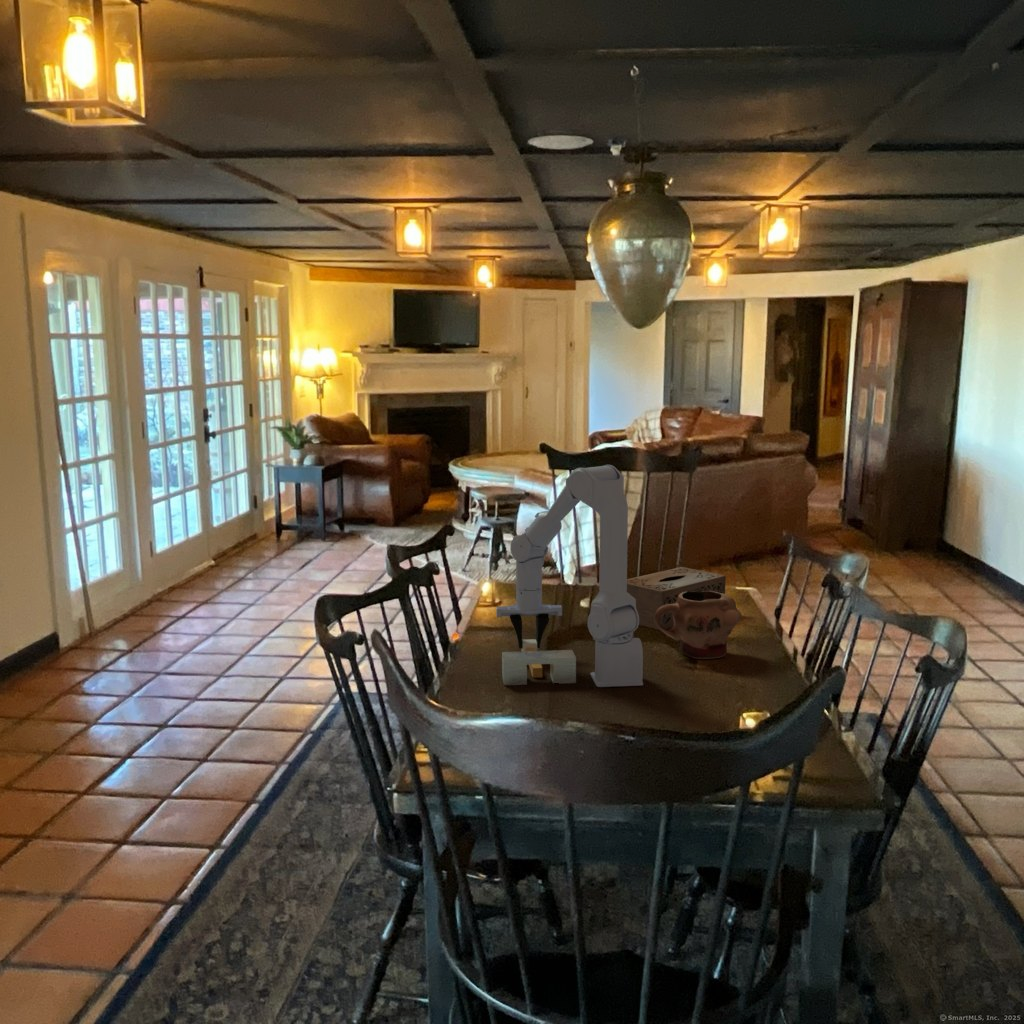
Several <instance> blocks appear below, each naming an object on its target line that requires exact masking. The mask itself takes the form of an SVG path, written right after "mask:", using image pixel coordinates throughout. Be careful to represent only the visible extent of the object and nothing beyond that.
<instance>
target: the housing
mask: <svg viewBox="0 0 1024 1024" xmlns="http://www.w3.org/2000/svg"><path fill="white" fill-rule="evenodd" d="M531 664H541V665H549V676H550V679H551V681H552V684H553V685H555V684H554V683H559V684H576V683H577V656H576V655H575V653H574V651H573V649H561V650H559V649H554V650H537V651H502V652H501V673H502V674H501V678H502V681H503V685H504V686H523V685H528V666H529V665H531Z"/></svg>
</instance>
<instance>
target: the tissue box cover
mask: <svg viewBox="0 0 1024 1024" xmlns="http://www.w3.org/2000/svg"><path fill="white" fill-rule="evenodd" d="M726 581H727V576H726V575H724V574H719V573H715V572H709V571H704V570H699V569H694V568H689V567H685V566H680V567H676V568H675V567H674V568H671V569H665V570H661V571H658V572H652V573H649V574H645V575H640V576H636V577H631V578H627V593H628V594H630V595H631V596H632V597H633V598H635V599H636V609H637V612H638V615H639V625H638V626H642V627H647V628H649V629H653V630H658V631H661V630H660V629H659V628H658V627H657V626H656V624H655V620H654V615H655V613H656V611H657V610H658V609H659V608H660V607H661V606H663V605H667V604H675V603H677V600H678V596H679V594H681V593H683V592H687V591H713V592H718V593H723V594H726ZM660 623H661V625H662V626H663V627H664V628H665V629H666V630H669V629H671V628H672V627H673V626H674V620H673V614H671V613H666V614H664V615H663V616H662V617H661V620H660ZM661 632H662V631H661Z"/></svg>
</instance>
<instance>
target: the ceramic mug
mask: <svg viewBox="0 0 1024 1024" xmlns="http://www.w3.org/2000/svg"><path fill="white" fill-rule="evenodd" d="M666 613H671V614H673V620H674V626H673V627H672V628H669V629H665V628H664V627H663V626H662V625H661V623H660V620H661V617H662V616H663V615H664V614H666ZM742 616H743V615H742V612H741V611H740V609H738V608H737V604H736V601H735V599H734V598H733V597H732V596H730V595H729V594H726V593H725V594H723V593H718V592H713V591H687V592H683V593H681V594H679V596H678V600H677V603H675V604H667V605H663V606H661V607H660V608H659V609H658V610H657V611H656V613H655V615H654V620H655V624H656V626H657V627H658V628H659V629H660V630H661V632H662V633H664V634H665V635H666V636H667V637H669V638H672V639H673V640H674V641H676V642H678V641H679V643H680V649H681V652H682V653H683V655H685V656H686V657H689V658H691V659H692V658H693V659H698V660H699V659H716V658H723V657H725V656H726V655H727V653H728V652H727V651H728V650H727V648H728V647H727V643H728V642H727V640H728V637H729V636H730V634H731V633H732V631H733V630H734V629H735V628H736V627H737V625H738V624H739V623H740V621H741V620H742V618H743V617H742ZM660 630H659V631H660Z"/></svg>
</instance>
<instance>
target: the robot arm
mask: <svg viewBox="0 0 1024 1024" xmlns="http://www.w3.org/2000/svg"><path fill="white" fill-rule="evenodd" d="M624 478H625V477H624V475H623V474H622V473H621V472H620V471H619V470H618V468H616V466H614V465H612V464H605V465H599V466H591V467H590V466H589V467H577V468H575V469H574V470H572V472H571V473H570V474H569V476H568V477H566V478H565V486H564V487H563V489H562V490H561V492H560V493H559V495H558V496H557V498H556V499H555V501H554V502H553V504H552V505H551V507H550V508H549V509H548V510H543V511H541V512H537V513H536V514H535V515H534V517H535V518H534V520H533V521H532V522H531V524H530V525H528V527H526V528H525V529H524V532H523V533H521V534H517V535H514V536H513V538H512V539H511V542H510V548H509V549H510V553H511V556H512V558H513V560H515V571H516V572H515V573H516V574H515V583H516V584H515V585H516V586H515V587H516V588H515V590H516V591H515V594H516V595H515V596H516V597H515V599H516V601H515V604H512V605H505V606H496V608H495V612H496V613H495V615H496V618H502V617H509V619H510V621H511V625H512V626H513V629H514V631H515V634H516V637H517V643H518V648H519V649H522V647H523V643H522V640H523V620H522V617H525V616H526V617H528V616H529V617H531V616H533V617H534V616H535V639H536V641H537V649H540V648H541V642H542V638H543V636H544V632H545V630H546V627H547V626H548V623H549V621H550V617H549V616H558V617H560V616H563V606H562V605H561V604H560V605H559V604H543V566H544V565H545V557H546V556H547V554H548V552H549V545H550V543H552V541H553V540H554V539H555V537H557V535H558V534H559V533H560V531H561V530H562V526H563V524H562V520H563V519H565V518H566V516H567V515H568V514H569V513H571V511H572V510H573V509H574V508H575V507H576V506H577V505H579V503H580V502H581V503H584V504H585V505H586V506H588V507H589V508H591V509H593V510H594V511H595V512H597V514H598V515H599V578H598V579H599V580H598V581H599V586H598V587H599V591H598V593H597V595H596V596H595V598H594V599H593V600H592V601H591V603H590V612H589V615H588V617H587V623H586V624H587V629H588V633H590V635H591V636H592V639H593V641H595V645H594V646H595V649H594V650H595V653H594V654H595V655H594V656H595V657H594V659H595V661H594V666H595V667H594V671H592V672H590V677H591V679H592V681H593V682H594V684H595V687H597V688H611V687H614V688H615V687H638V686H639V687H641V686H644V681H643V679H644V678H643V673H644V672H643V669H644V668H643V666H644V665H643V662H644V652H643V649H644V648H643V644H642V641H641V638H639V637H634V632H635V631H636V630H637V629H638V627H639V626H640V625H639V615H638V612H637V609H636V599H635V598H633V597H632V596H631V595H630V594H628V593H627V579H628V537H629V535H628V533H629V532H628V531H629V530H628V526H629V525H628V523H629V522H628V520H629V519H628V518H629V514H628V513H629V506H628V502H627V498H626V495H625V491H624V489H625V488H624V487H625V479H624Z"/></svg>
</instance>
